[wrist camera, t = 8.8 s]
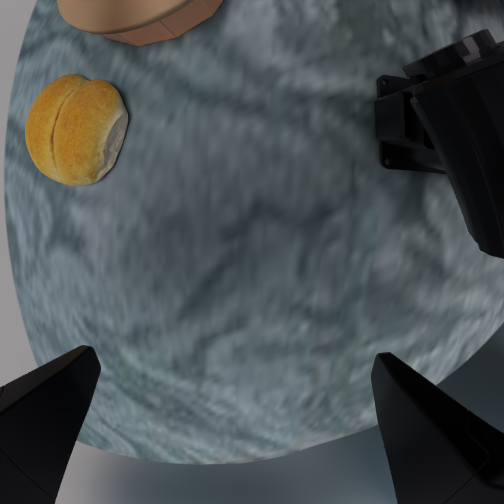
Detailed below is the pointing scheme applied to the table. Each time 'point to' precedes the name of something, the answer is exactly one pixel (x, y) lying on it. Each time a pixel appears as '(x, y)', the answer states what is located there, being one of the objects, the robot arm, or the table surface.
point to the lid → (117, 13)
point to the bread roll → (76, 130)
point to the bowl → (169, 24)
